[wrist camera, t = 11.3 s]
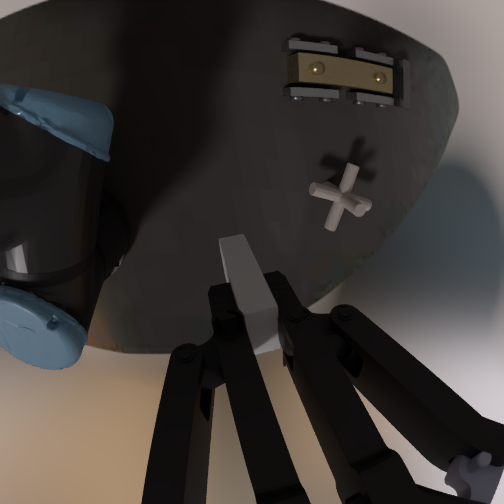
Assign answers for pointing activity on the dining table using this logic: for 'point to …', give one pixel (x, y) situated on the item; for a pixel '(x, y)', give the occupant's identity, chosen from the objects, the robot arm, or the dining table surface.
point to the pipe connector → (341, 197)
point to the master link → (338, 73)
